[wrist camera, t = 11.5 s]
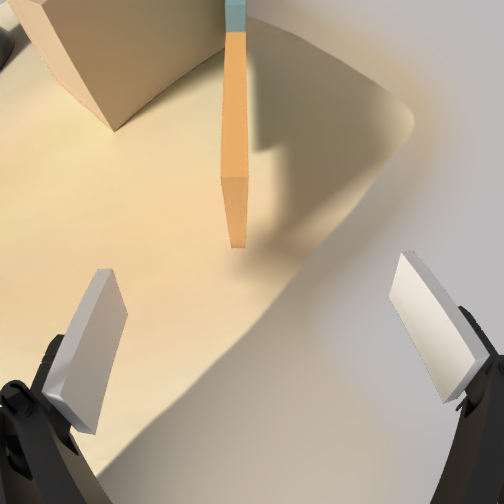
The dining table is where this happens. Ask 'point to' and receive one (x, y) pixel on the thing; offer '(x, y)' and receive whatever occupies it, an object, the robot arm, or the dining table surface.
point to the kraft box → (121, 47)
